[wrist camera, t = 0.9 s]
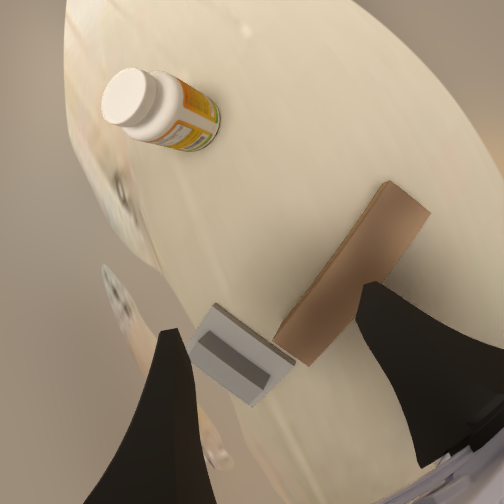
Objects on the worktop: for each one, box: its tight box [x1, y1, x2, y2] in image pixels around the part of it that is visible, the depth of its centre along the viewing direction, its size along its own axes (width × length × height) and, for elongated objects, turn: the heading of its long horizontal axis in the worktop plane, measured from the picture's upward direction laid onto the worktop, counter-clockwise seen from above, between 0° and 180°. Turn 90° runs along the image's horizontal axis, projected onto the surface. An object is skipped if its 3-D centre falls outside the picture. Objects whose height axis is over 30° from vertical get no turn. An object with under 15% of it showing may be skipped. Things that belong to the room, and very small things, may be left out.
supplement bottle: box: [101, 67, 220, 151], centre depth 19 cm, size 5×5×10 cm
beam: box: [272, 180, 431, 366], centre depth 20 cm, size 4×14×4 cm, turn 147°
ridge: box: [186, 303, 295, 408], centre depth 25 cm, size 9×7×3 cm
